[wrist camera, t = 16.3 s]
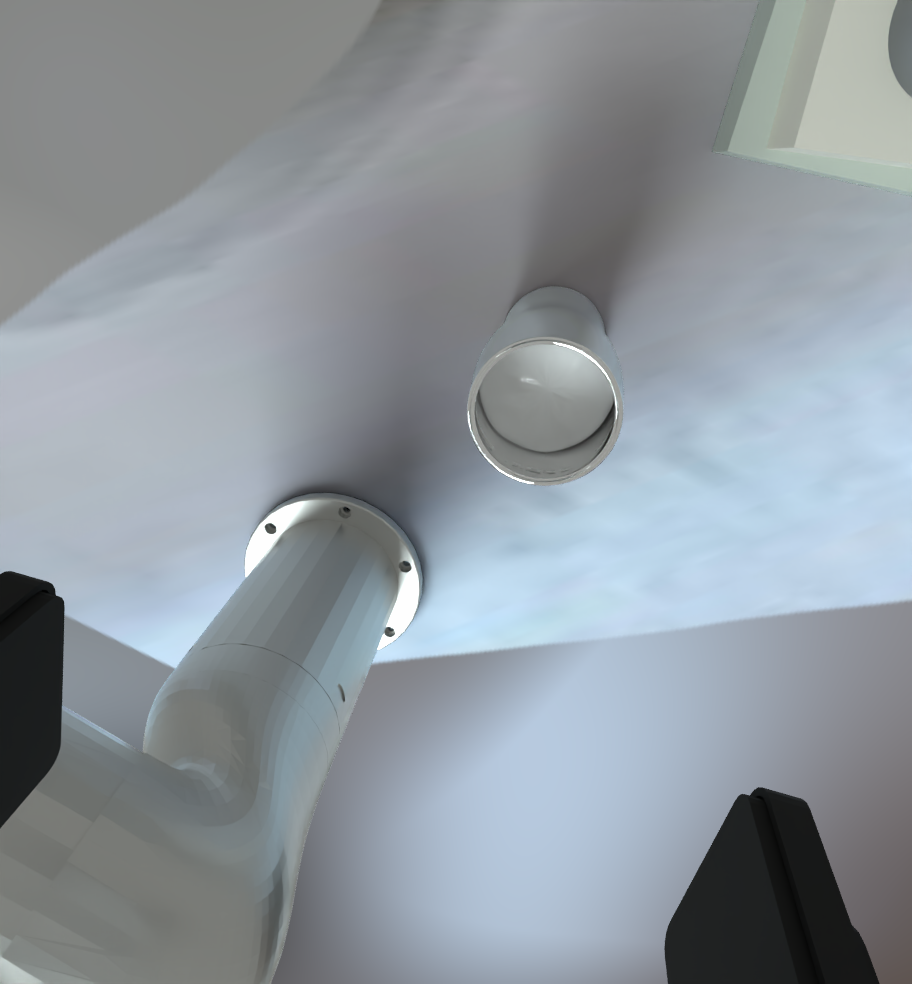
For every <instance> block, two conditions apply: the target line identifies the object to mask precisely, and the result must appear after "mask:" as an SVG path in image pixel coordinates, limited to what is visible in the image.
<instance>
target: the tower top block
mask: <svg viewBox="0 0 912 984" xmlns="http://www.w3.org/2000/svg"><path fill="white" fill-rule="evenodd" d="M897 1H898V0H806V3H805V7H804V11H803V14H802V18H801V22H800V25H799V29H798V33H797V37H796V40H795V44H794V48H793V52H792V55H791V59H790V63H789V66H788V70H787V74H786V78H785V81H784V85H783V89H782V92H781V96H780V100H779V104H778V107H777V111H776V115H775V119H774V122H773V126H772V130H771V133H770V137H769V141H768V145H767V148H766V149H772V150H779V151H786V152H794V153H801V154H808V155H816V156H823V157H830V158H838V159H845V160H852V161H860V162H867V163H874V164H882V165H889V166H896V167H904V168H911V169H912V97H911V96H909V95H908V94H907V93H906V92H905V91H904V89H903V88H902V87H901V86H900V84H899V82H898V81H897V79H896V77H895V75H894V73H893V70H892V67H891V63H890V59H889V51H888V35H889V28H890V22H891V19H892V15H893V11H894V9H895V6H896V4H897Z"/></svg>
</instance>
